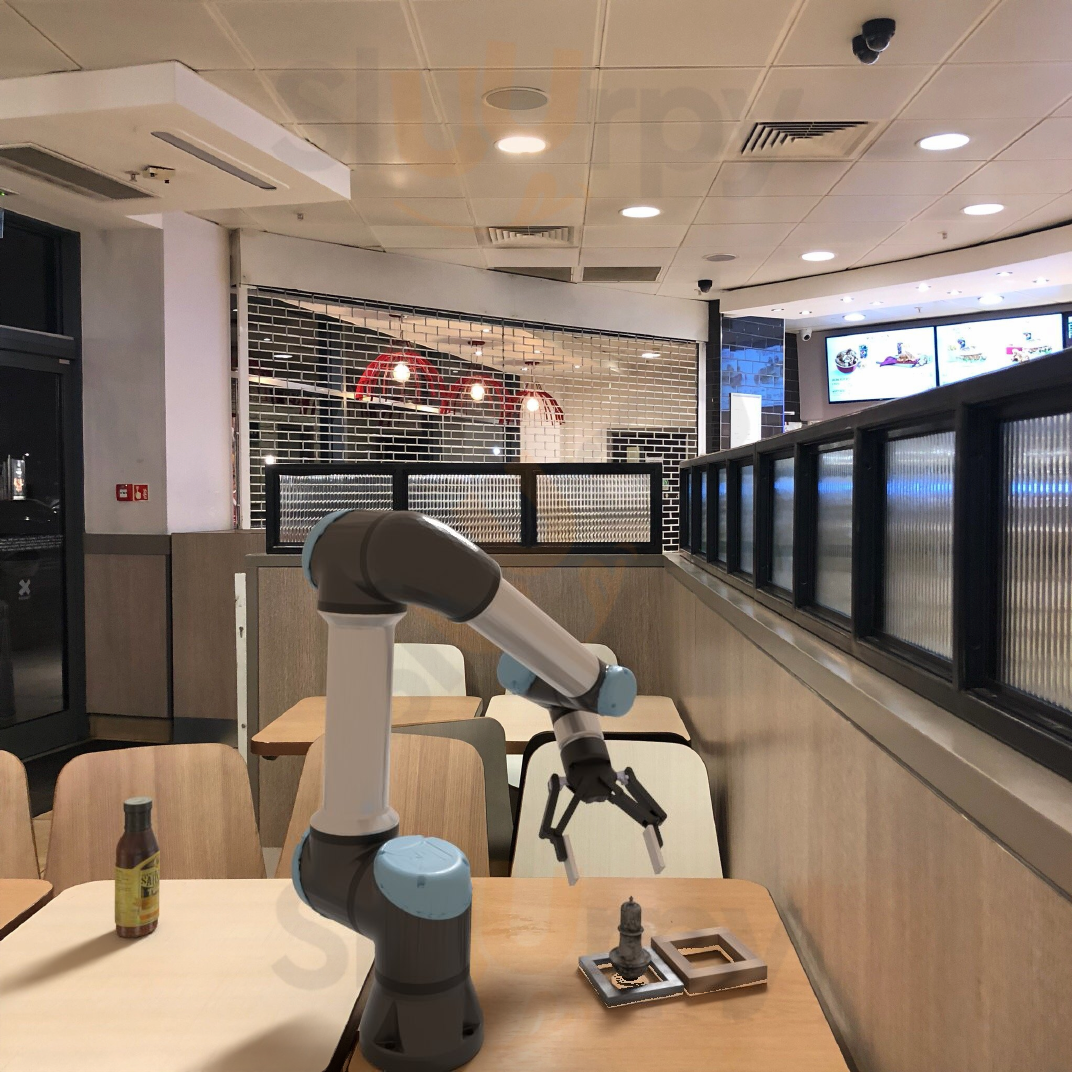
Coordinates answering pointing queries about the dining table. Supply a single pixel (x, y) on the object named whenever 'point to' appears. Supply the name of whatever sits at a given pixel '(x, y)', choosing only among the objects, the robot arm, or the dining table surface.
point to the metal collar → (634, 993)
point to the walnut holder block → (711, 977)
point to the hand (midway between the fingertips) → (618, 876)
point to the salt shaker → (630, 945)
